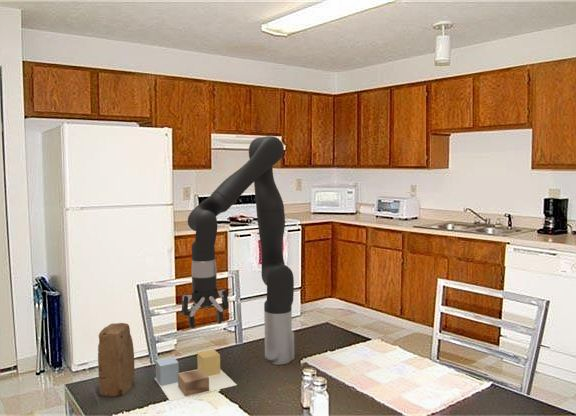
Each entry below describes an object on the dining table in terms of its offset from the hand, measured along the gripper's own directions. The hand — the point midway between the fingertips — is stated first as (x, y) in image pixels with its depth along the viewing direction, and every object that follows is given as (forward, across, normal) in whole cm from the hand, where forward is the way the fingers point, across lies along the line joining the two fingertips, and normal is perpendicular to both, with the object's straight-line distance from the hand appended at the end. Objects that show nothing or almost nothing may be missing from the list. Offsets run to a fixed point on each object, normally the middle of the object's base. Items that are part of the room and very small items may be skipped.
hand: (206, 325), depth 154 cm
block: (+16, +27, -2) cm, 31 cm away
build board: (+16, +5, +4) cm, 18 cm away
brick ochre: (+15, 0, 0) cm, 15 cm away
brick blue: (+15, +13, 0) cm, 20 cm away
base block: (+15, +7, +9) cm, 19 cm away
